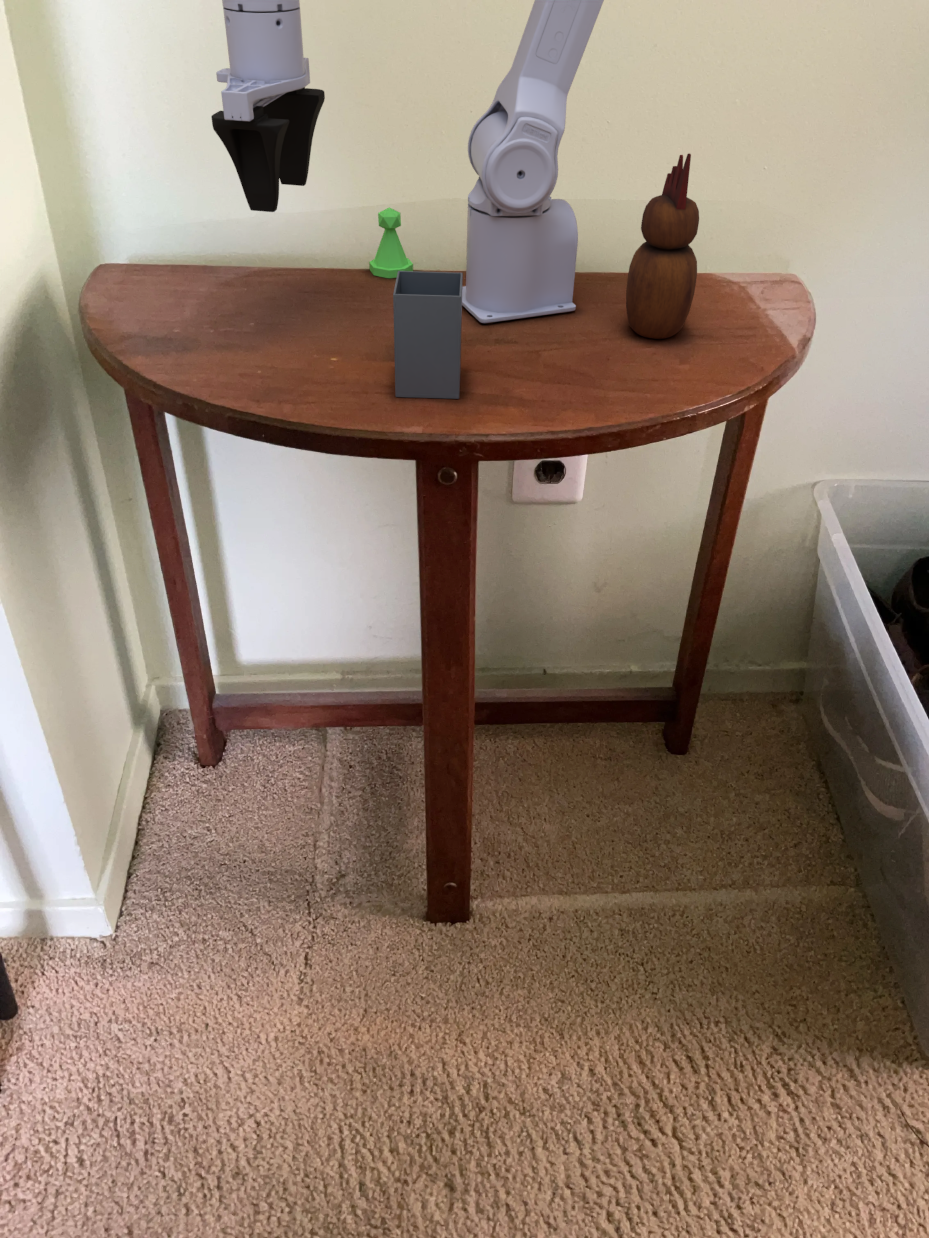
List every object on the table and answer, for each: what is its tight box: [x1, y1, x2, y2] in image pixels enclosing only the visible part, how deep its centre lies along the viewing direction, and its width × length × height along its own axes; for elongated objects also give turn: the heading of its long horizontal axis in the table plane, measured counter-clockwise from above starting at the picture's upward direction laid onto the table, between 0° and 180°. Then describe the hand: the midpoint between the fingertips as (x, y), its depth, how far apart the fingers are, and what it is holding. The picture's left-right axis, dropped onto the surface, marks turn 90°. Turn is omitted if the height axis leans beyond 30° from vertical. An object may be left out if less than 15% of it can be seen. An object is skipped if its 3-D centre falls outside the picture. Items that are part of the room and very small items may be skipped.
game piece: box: [368, 207, 414, 279], centre depth 96 cm, size 4×4×6 cm
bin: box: [392, 270, 464, 400], centre depth 75 cm, size 5×5×8 cm
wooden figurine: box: [625, 153, 700, 340], centre depth 82 cm, size 7×6×15 cm
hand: (279, 196), depth 83 cm, fingers open, 7 cm apart
